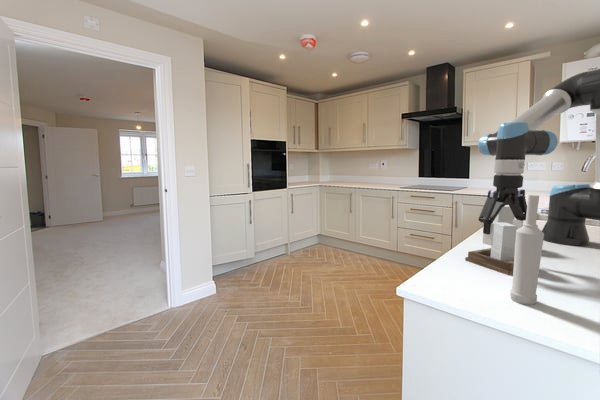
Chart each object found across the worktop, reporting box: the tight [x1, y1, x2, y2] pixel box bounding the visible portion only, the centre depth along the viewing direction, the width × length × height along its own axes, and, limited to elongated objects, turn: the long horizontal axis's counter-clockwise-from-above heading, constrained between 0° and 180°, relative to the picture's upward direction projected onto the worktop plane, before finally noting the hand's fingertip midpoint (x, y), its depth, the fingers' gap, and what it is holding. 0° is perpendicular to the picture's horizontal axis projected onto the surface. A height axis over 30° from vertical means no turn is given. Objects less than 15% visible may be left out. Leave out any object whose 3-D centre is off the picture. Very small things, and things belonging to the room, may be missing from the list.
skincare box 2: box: [490, 222, 517, 262], centre depth 97 cm, size 6×4×12 cm
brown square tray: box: [464, 247, 514, 276], centre depth 98 cm, size 14×14×3 cm
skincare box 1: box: [489, 205, 516, 225], centre depth 120 cm, size 8×7×16 cm
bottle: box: [509, 194, 544, 306], centre depth 72 cm, size 5×5×25 cm
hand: (502, 242), depth 97 cm, fingers open, 13 cm apart
